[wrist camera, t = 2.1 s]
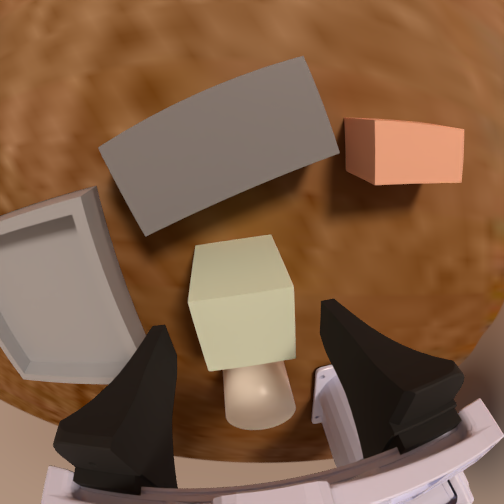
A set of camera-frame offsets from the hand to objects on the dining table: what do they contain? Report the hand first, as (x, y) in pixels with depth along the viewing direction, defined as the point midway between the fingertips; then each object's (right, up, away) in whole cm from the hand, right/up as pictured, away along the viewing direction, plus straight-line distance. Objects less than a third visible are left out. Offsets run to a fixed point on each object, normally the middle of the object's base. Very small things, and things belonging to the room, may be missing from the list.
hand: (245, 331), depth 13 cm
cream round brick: (0, -5, +8) cm, 10 cm away
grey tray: (-14, 0, +4) cm, 15 cm away
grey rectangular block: (-1, +9, +1) cm, 10 cm away
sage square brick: (-1, +2, +5) cm, 5 cm away
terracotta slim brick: (+9, +10, +2) cm, 13 cm away
